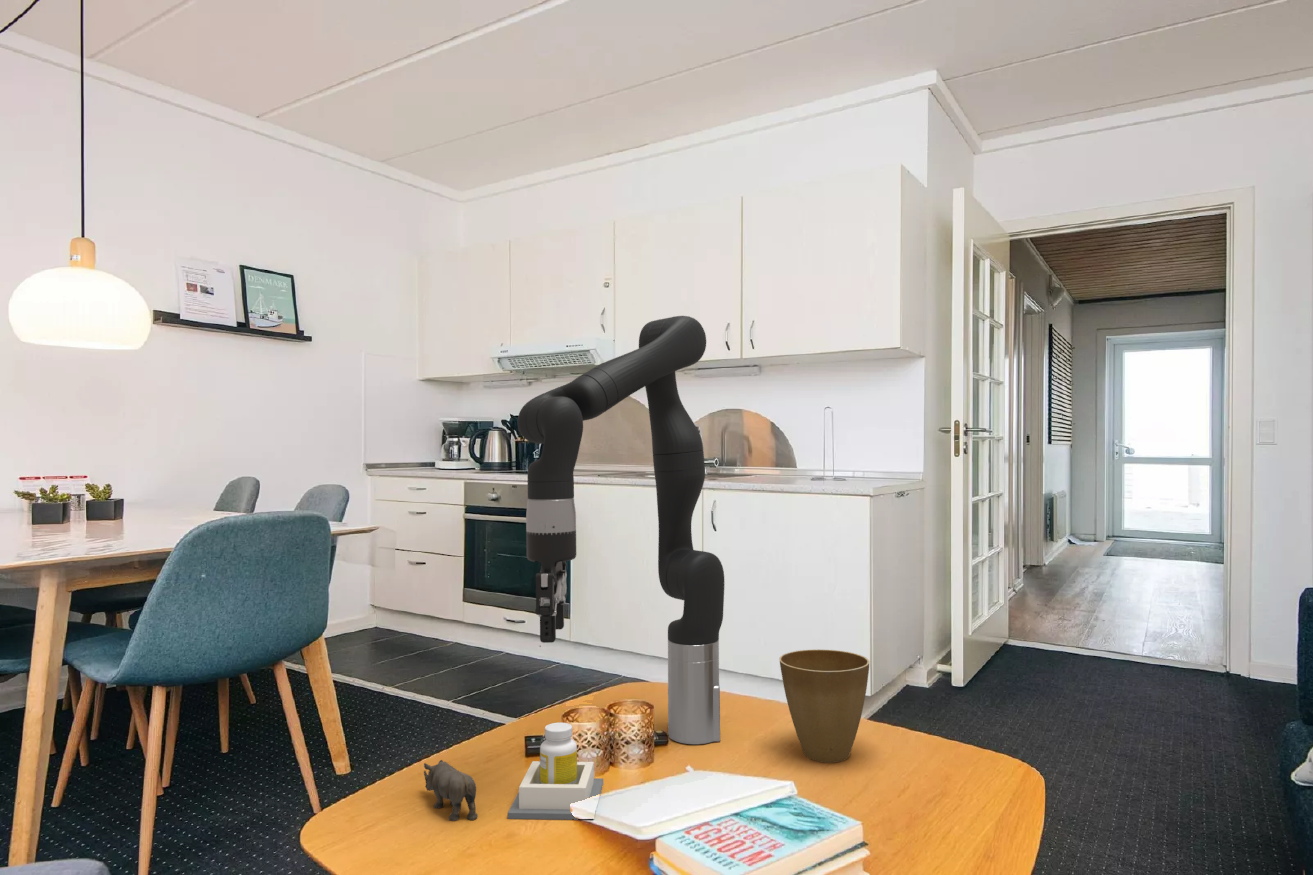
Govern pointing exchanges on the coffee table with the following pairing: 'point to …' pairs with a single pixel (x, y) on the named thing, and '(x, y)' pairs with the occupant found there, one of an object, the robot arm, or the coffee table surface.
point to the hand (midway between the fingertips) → (552, 635)
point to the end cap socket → (553, 794)
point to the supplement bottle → (558, 755)
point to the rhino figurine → (451, 788)
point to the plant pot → (825, 699)
